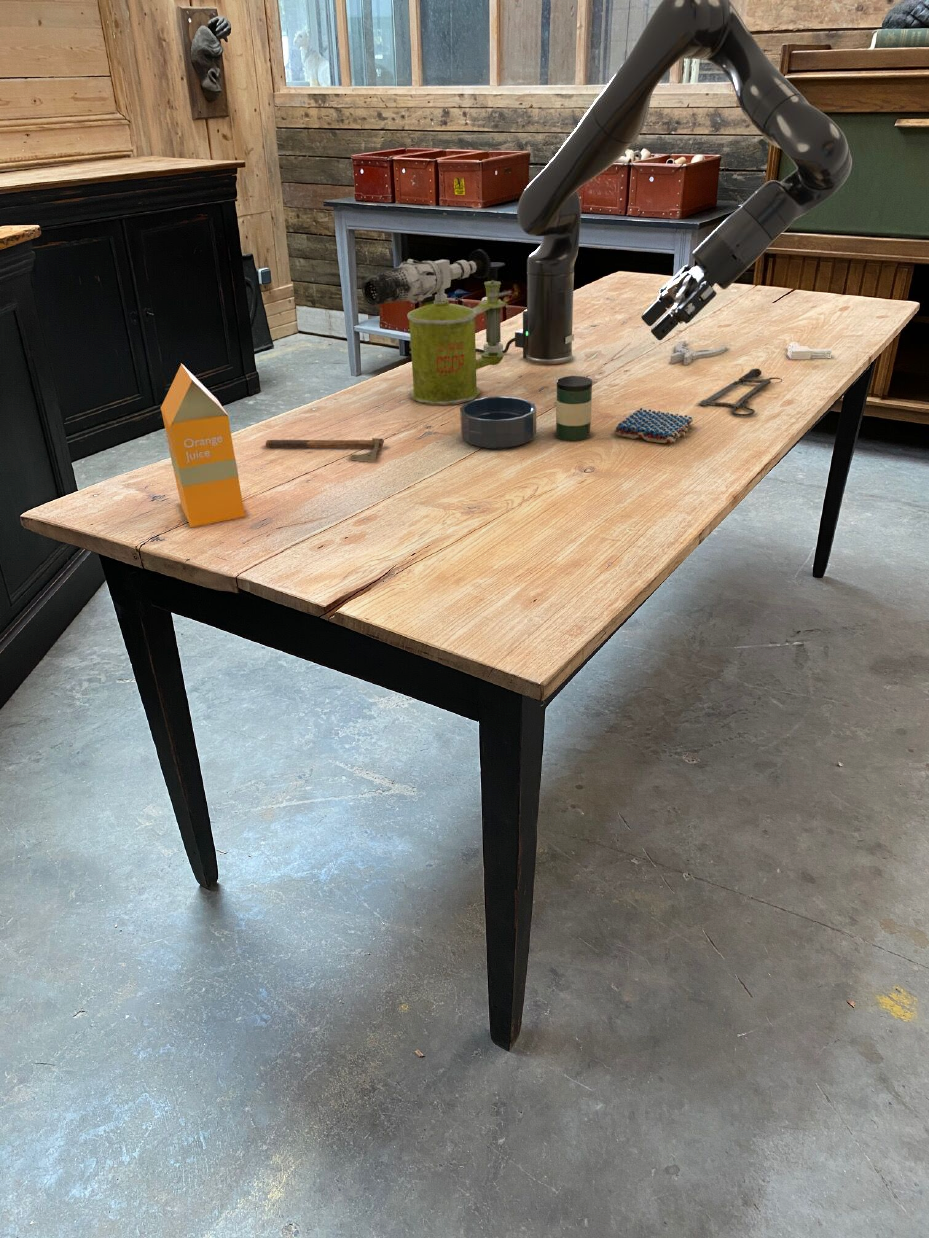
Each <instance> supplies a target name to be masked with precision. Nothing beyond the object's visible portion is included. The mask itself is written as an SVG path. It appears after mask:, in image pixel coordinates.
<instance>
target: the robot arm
mask: <svg viewBox="0 0 929 1238" xmlns="http://www.w3.org/2000/svg"><path fill="white" fill-rule="evenodd" d="M759 45H760V44H758V42H757V41H756V39H755V38H754V36H753V34H752V33H751V32H750V30H749V29H748V28H747V25H746V24H745V22H744V21H743V19H742V18H741V16H740V14H739V12H738V10H737V9H736V8H735V6H734V4H733V3H732V2H731V1H730V0H661V2H660V3H658V6H657V7H656V8H655V10H654V12H653V14H652V15H651V17H650V19H649V21H648V22H647V24H646V26H645V27H644V29H643V30H642V32H641V34H640V36H639V37H638V39H637V41H636V43H635V44H634V46H633V48H632V49H631V51H630V52H629V54H628V56H627V57H626V59H624V61H623V63H622V64H621V66H620V67H619V69H617V71H616V73H615V74H614V75H613V77H612V78H611V80H610V81H609V83H607V85H606V87H605V88H604V89H603V91H602V92H601V93H600V94H599V96H598V97H597V98H596V99H595V100H594V102H593V104H592V105H591V106H590V108H589V109H588V110H587V112H586V113H585V114H584V115H583V117H582V119H581V120H580V122H579V123H578V125H577V127H576V128H575V129H574V131H573V132H572V133H571V134H570V136H569V137H568V138H567V140H566V141H565V142H564V143H563V145H562V146H561V148H560V149H559V150H558V152H557V153H556V154H555V156H554V157H553V158H552V159H551V160H550V161H549V163H548V164H547V165H546V166H545V168H544V169H542V170H541V172H540V173H539V174H538V175H537V176H536V177H535V178H534V179H533V180H532V181H531V182H530V183H529V184H528V185H527V186H526V188H525V189H524V191H523V192H522V194H521V196H520V197H519V200H518V204H517V209H516V218H517V223H518V225H519V228H520V229H521V230H522V232H523V233H525V234H527V235H528V236H532V237H542V241H541V243H540V244H539V246H538V247H537V249H536V250H535V251H533V252H531V254H529V256H528V257H527V259H526V309H525V310H523V312H522V329H519V330H516V331H514V337H513V338H511V339H509V340H508V341H507V342H506V344H505V348H503V350H502V351H501V352H503V353H504V354H506V353H507V352H508V351H509V349H510V346H511V344H513V343H514V347H515V348H520V349H522V359H525V360H527V362H530V363H533V364H537V365H538V364H539V365H559V364H563V363H568V362H570V361H571V360H573V342H574V341H575V334H574V333H573V323H574V322H573V321H574V320H573V316H574V279H575V277H574V276H575V263H576V259H577V257H578V254H579V248H580V234H581V220H582V205H581V199H580V194H579V191H578V190H579V189H580V188H581V187H583V186H584V185H586V184H587V183H589V182H590V181H592V180H593V179H594V178H596V177H597V176H599V175H601V174H602V173H604V172H605V171H606V170H608V169H609V168H610V167H612V166H613V165H614V164H615V163H616V162H618V161H619V160H620V158H622V156H624V154H625V153H626V152H627V151H628V149H629V148H630V147H631V146H632V145H633V143H634V142H635V141H636V139H637V138H638V137H639V135H640V134H641V133H642V132H643V129H644V127H645V125H646V123H647V119H648V115H649V111H650V105H651V99H652V95H653V94H654V93H653V92H654V91H655V90H656V87H657V86H658V84H659V83H660V82H661V81H662V80H663V78H664V77H665V76H666V74H667V73H668V72H669V71H670V70H671V69H672V68H673V66H675V65H676V64H677V63H678V62H679V61H680V60H682V59H687V60H689V59H690V60H702V59H704V60H706V61H707V62H709V63H711V64H712V65H713V66H715V67H716V68H717V69H718V70H720V71H721V72H722V73H723V74H724V75H725V76H726V77H727V79H728V80H729V82H730V83H731V85H732V87H733V90H734V93H735V96H736V100H737V103H738V105H739V107H740V110H741V111H742V112H743V114H744V116H745V118H746V119H747V120H748V121H749V122H750V124H752V126H754V128H755V129H756V130H757V131H758V132H759V133H760V134H761V135H762V136H763V137H764V138H765V140H766V141H767V142H768V143H770V145H772V146H773V147H775V148H777V149H781V150H782V151H783V152H784V153H785V155H786V156H787V157H788V158H789V159H790V160H791V162H792V163H793V165H794V166H795V167H796V169H795V170H794V171H792V172H791V173H790V174H789V175H787V176H786V177H784V179H782V180H781V181H779V180H774V179H771V180H768V181H766V182H765V183H763V184H762V185H761V186H760V187H759V188H758V189H757V190H756V191H755V192H753V194H752V195H750V197H749V198H748V199H747V200H746V201H744V203H743V204H741V206H739V208H737V209H736V210H735V211H734V212H732V213H731V214H730V215H729V216H727V217H726V218H725V219H724V220H723V221H721V223H720V224H719V225H718V226H717V227H716V228H715V229H714V230H712V232H711V233H710V234H709V235H708V236H707V237H706V238H705V239H704V240H703V241H702V242H701V243H700V244H699V245H698V246H697V247H696V248H695V249H694V250H693V251H692V253H691V255H692V258H693V259H694V260H695V262H696V263H697V264H696V265H695V266H693V267H691V266H690V265H689V264H685V265H684V266H683V267H682V268H681V269H680V270H679V271H678V272H677V273H676V274H675V275H674V276H672V278H670V280H668V282H666V283H665V284H664V285H663V286H661V288H660V289H659V290H658V294H659V295H658V296H657V299H656V300H655V302H653V303H652V304H651V305H650V306H649V307H648V308H647V309H646V310H645V311H644V312H643V313H642V314H641V316H640V317H641V320H642V321H643V323H645V325H647V326H648V327H652V326H653V325H654V324H655V325H654V326H653V327H652V328H651V329H650V333H651V334H652V335H653V337H655V338H656V339H657V341H662V340H664V339H665V338H666V336H668V334H670V333H671V332H672V331H673V330H674V329H675V328H676V327H677V326H678V325H679V324H680V325H681V324H683V323H684V324H689V323H690V322H691V321H692V320H693V319H694V318H695V317H696V316H697V315H698V314H699V313H700V312H701V311H702V310H703V309H704V308H705V307H706V306H707V305H708V304H710V302H712V300H713V299H714V298H716V296H717V294H718V293H717V291H716V290H715V289H714V286H715V284H716V285H717V286H718V287H719V288H721V289H722V290H726V289H728V288H729V287H730V286H731V285H732V284H733V283H734V282H735V281H737V279H738V278H740V277H741V276H742V275H743V274H744V273H745V272H746V271H747V270H748V269H749V268H750V267H751V266H752V265H753V264H754V263H755V262H756V261H757V260H758V259H759V258H760V257H761V256H762V255H763V254H764V252H765V251H766V250H767V249H768V248H769V246H771V244H772V243H773V242H775V240H776V239H778V238H779V237H780V236H781V235H782V234H783V233H784V232H785V231H786V230H787V229H788V228H789V227H790V226H791V225H792V224H793V222H794V221H795V220H797V219H798V218H800V217H802V216H804V215H805V214H807V213H808V212H809V213H810V212H811V210H813V209H815V208H816V207H817V206H819V205H820V204H822V203H823V202H825V201H826V200H828V199H829V198H831V197H832V196H833V195H834V194H835V193H836V192H837V191H838V190H839V189H840V188H841V187H842V186H843V184H844V183H846V181H847V179H848V178H849V176H850V174H851V170H852V166H853V158H852V153H851V151H850V148H849V144H848V140H847V138H846V135H845V134H844V132H843V130H842V129H841V128H840V127H839V125H838V124H837V123H836V122H835V121H833V119H831V118H830V117H829V116H828V115H827V114H825V113H824V112H822V111H821V110H819V108H816V107H815V106H814V105H812V104H810V103H809V101H808V100H807V99H806V98H805V96H804V95H803V94H802V93H801V92H800V91H799V90H798V89H797V88H796V87H795V86H794V85H793V84H792V83H791V82H790V81H789V80H788V79H787V77H786V76H784V75H783V74H782V72H781V71H780V70H779V69H778V68H777V67H776V66H775V64H773V63H772V61H771V60H770V58H768V56H767V55H766V53H765V52H764V50H763V49H762V48H761V47H760V46H759ZM668 310H669V312H668ZM665 313H666V314H665ZM664 314H665V315H664ZM663 315H664V316H663ZM662 316H663V317H662ZM484 352H485V351H484V349H483V348H482V349H481V348H476V353H481V354H482V353H484Z"/></svg>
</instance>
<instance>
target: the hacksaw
mask: <svg viewBox="0 0 929 1238" xmlns="http://www.w3.org/2000/svg"><path fill="white" fill-rule="evenodd" d="M762 373H763V371H762V370H761V369H760V368H756V367H755V368H751V369H750V370H749V372H747V373H745V374H744V375H743V376H741V377H739V378H738V379H737V380H734V381H733V382H732V383H729V384H728V385H727V386H725V387H723V388H722V389H720V390H719V391H717V392H716V393H714V394H712V395H711V396H709V397H707V398H705V399H703V400H701V401H700V402H699V403H698V404H699V405H700V406H704V407H706V406H714V407H716V406H717V407H718V406H719V407H722V406H723V407H729V408H732V409H731V414H732V415H734V416H739V417H749V416H751V415H754V413H755V410H754V409H753V408H751V407H749V406H746V404H749V399H750V398H752V397H753V396H755V395H756V394H757V393H759V392H760V391H762V390H763V389H764V388H766V387H767V386H769V385H770V384H772V380H780V381H777V382H776V384H779V383H782V382H783V379H782V378H780V377H769V378H761V379H755V378H758V377H760V376H761V375H762ZM744 383H750V384H751V383H752V384H757V385H756V386H755V387H753V388H752V389H750V391H748V392H746V394H744V395H743V396H742V397H740V399H738V400H737V401H736V402H735V403H732V402H722V401H721V402H719V401H718V402H717V401H715V400H717V399H718V398H720V397H721V396H723V395H725V394H726V393H728V392H730V391H731V390H733V389H734V388H735V387H737V386H739V385H740V384H744ZM741 406H742V408H743V409H744V410H748V411H751V412H749V413H737V412H735V411H737V410H739V409H740V408H741Z"/></svg>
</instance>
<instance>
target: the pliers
mask: <svg viewBox="0 0 929 1238" xmlns="http://www.w3.org/2000/svg"><path fill="white" fill-rule="evenodd" d="M686 344H687V340H685V339H683V340H681V341H679V342H678V343H676V345H675V349H674V351H675V353H672V354H670V358H669V359H670V360H669V363H670V364H673V365H674V364H676V363H679V362H681V361H683V366H688V365H689V364H690V363H691V362H692V361H693V360H697V359H700V358H709V357H713V356H717V355H721V354H722V353H724V352H725V351H726V350H727V347H728V345H727V344H724V345H722V346H720V347H718V348H715V349H699V350H695V352H694V350H691V348H690V347H687V346H685V345H686Z"/></svg>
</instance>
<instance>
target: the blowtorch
mask: <svg viewBox="0 0 929 1238" xmlns="http://www.w3.org/2000/svg"><path fill="white" fill-rule="evenodd" d="M505 266H506V264H505V262H500V261H496V262H495V261H491V258H490V256H489V255H488V253H487V252H486V251H485V250H484V249H480V248H479V249H475V250H473V251H471V253H470V254H469V255H468V261H467V260H465V259H461V260H457V261H455V262H453V264H452V263H451V264H450V260H449V259H439V260H435V261H433V260H422V261H419V260H415V259H412V258H408V259H407V261H405V260H404V261H402V262H401V263H400V265H398V266H397V267H394V268H391V269H390V270H389V269H388V270H387V271H384V272H381V273H378V274H375V275H372V276H369V277H367V278H365V279H363V281H362V284H361V292H362V296H363V299H364V300H365V302H366V303H367V304H368V305H370V306H376V305H383V304H384V305H385V304H390V303H399V302H410V303H413V304H417V303H418V302H420V303H421V305H422V306H421V307H418V308H415V309H413V310H411V311H408V313H407V315H406V316H407V320H408V322H409V323H408V324H409V338H410V353H411V371H412V385H413V389H412V391H411V392H410V397H411V398H412V400H414V401H415V402H418V403H420V404H424V405H425V404H426V405H430V406H446V405H447V406H448V405H460V404H464V403H467V402H470V401H472V400H476V399H477V398H478V397H479V396H480V392H481V391H480V389H479V387H478V385H477V383H478V382H477V370H480V369H482V368H484V367H487V366H497V365H499V364H500V363H501V362H502V361H503V359H504V356H505V355H506V353H503V352H501V351H503V350H504V344H503V343H501V340H502V339H501V333H502V331H501V308H504V307H507V306H508V303H507V302H506V301H502V300H499V297H500V288H501V285H502V282H501V281H497V280H498V270H499V269H500V268H503V267H505ZM470 275H472V276H473V277H475V278H476V279H484V278H486V279H487V280H488V281H484V283H483V285H484V288H485V297H486V298H487V299H486V300H485V301H480V302H478V305H477V306H474V307H473V308H471V307H468V306H465V305H461V304H456V303H450V302H449V301H450V300H449V299H448V294H446V293H445V290H446V289H448V288H450V287H451V284H452V283H451V282H452V280H455V279H457V280H461V279H465V278H469V276H470ZM435 293H436V294H435ZM434 294H435V295H434ZM484 312H485V341H486V343H485V344H483V350H484V351H485V352H484V353H481V355H480V356H481V357H479V358H477V352H476V349H477V347H476V345H477V344H476V318H477V316H479V315H480V314H482V313H484Z"/></svg>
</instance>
